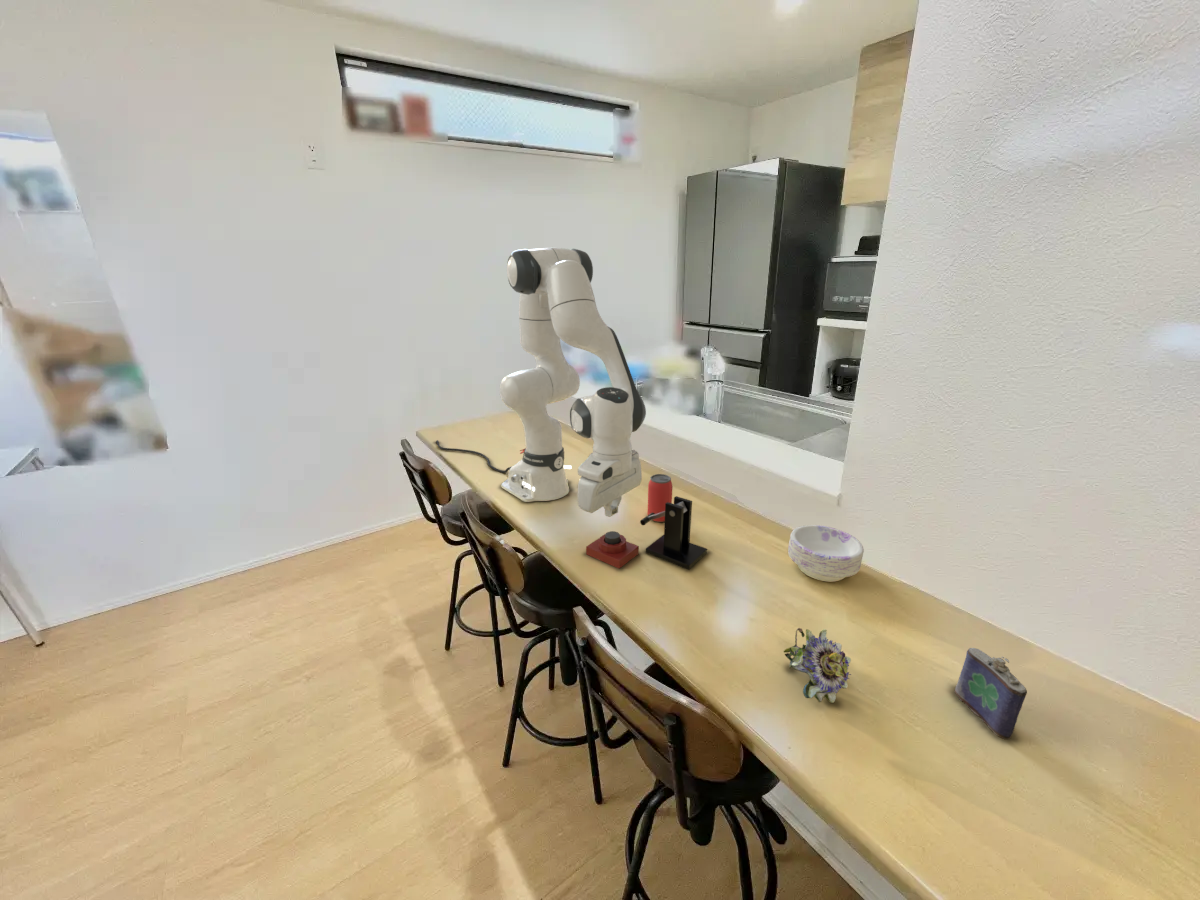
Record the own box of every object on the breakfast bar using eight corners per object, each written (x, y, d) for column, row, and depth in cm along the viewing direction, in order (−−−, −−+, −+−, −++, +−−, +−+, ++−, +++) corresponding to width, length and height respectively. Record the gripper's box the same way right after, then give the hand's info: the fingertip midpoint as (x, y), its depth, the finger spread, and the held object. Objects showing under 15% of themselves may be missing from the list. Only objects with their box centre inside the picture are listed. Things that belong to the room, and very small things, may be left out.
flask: (950, 690, 81) (967, 638, 77) (966, 688, 81) (983, 636, 77) (1000, 741, 72) (1022, 685, 68) (1018, 738, 73) (1040, 682, 69)
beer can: (670, 524, 134) (672, 483, 130) (646, 521, 135) (647, 481, 131) (671, 512, 140) (673, 474, 136) (648, 510, 141) (649, 472, 137)
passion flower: (823, 723, 81) (822, 709, 73) (768, 675, 88) (760, 657, 80) (863, 670, 84) (866, 650, 75) (805, 627, 91) (802, 604, 82)
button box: (586, 554, 120) (586, 540, 119) (606, 540, 126) (606, 527, 125) (619, 568, 114) (619, 553, 113) (638, 553, 120) (639, 539, 119)
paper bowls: (853, 558, 117) (859, 529, 115) (862, 596, 104) (869, 564, 101) (785, 547, 122) (789, 519, 119) (786, 582, 109) (790, 551, 106)
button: (602, 541, 119) (601, 535, 118) (611, 535, 121) (611, 529, 121) (613, 546, 116) (613, 540, 116) (622, 540, 119) (622, 534, 118)
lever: (642, 527, 122) (638, 519, 122) (653, 520, 125) (649, 511, 125) (679, 516, 113) (675, 506, 113) (690, 508, 117) (686, 499, 117)
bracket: (645, 552, 121) (646, 501, 116) (664, 537, 127) (666, 489, 122) (688, 569, 114) (692, 516, 109) (706, 553, 120) (710, 502, 115)
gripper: (627, 444, 121) (626, 495, 126) (572, 470, 106) (573, 526, 111) (649, 450, 117) (646, 502, 122) (595, 478, 102) (595, 535, 107)
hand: (611, 514), depth 117 cm, fingers closed
